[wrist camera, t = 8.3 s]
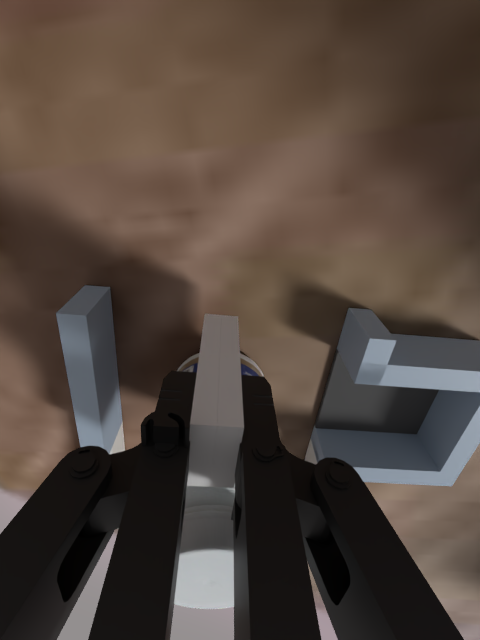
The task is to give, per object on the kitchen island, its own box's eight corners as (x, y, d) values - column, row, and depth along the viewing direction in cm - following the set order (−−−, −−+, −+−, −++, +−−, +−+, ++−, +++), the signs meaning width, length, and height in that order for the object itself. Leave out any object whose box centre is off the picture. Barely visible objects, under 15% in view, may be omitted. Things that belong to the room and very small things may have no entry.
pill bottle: (271, 410, 20) (301, 610, 12) (186, 423, 21) (154, 625, 12) (258, 337, 18) (283, 526, 9) (161, 353, 18) (97, 549, 9)
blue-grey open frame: (85, 285, 16) (56, 313, 13) (491, 320, 17) (537, 351, 15) (103, 425, 20) (84, 467, 18) (425, 444, 22) (451, 486, 19)
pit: (336, 348, 18) (338, 351, 18) (450, 357, 18) (454, 360, 18) (314, 424, 21) (315, 428, 21) (414, 430, 21) (416, 434, 21)
